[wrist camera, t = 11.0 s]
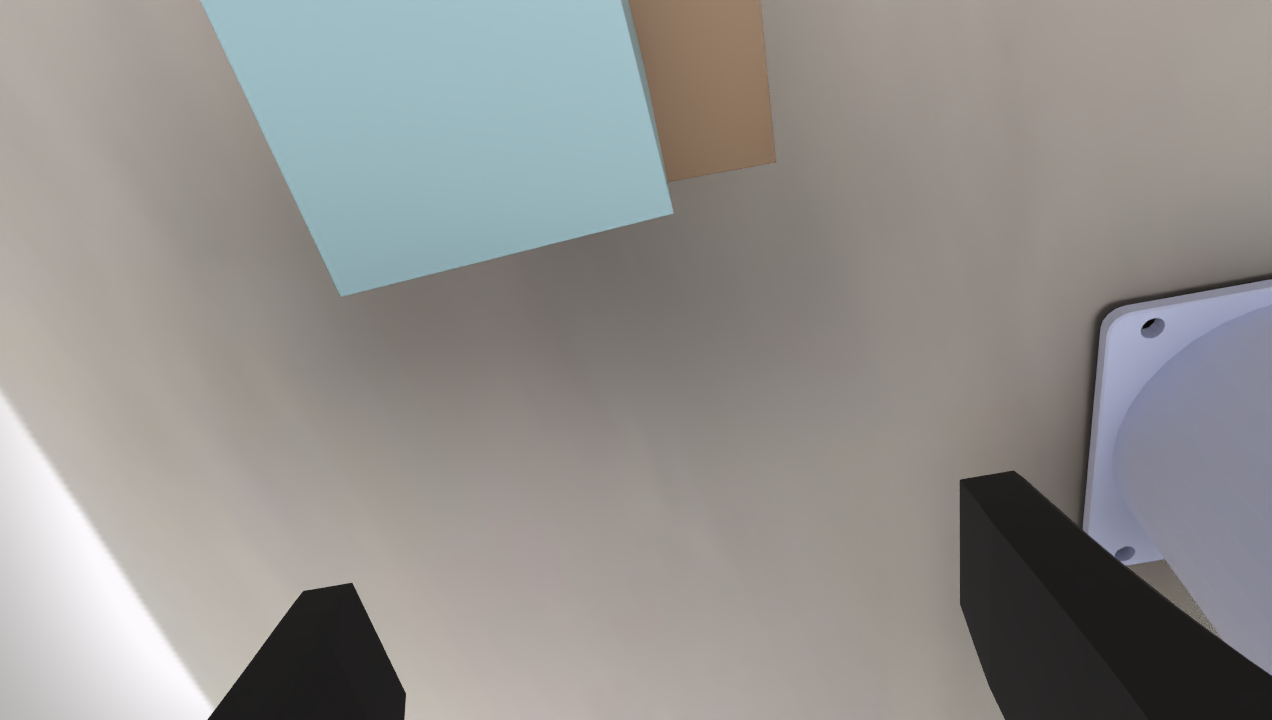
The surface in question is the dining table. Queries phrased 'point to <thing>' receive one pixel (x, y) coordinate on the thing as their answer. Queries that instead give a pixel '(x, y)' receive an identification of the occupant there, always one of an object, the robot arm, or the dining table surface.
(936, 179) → the dining table surface
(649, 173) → the teal block
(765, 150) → the walnut base block
